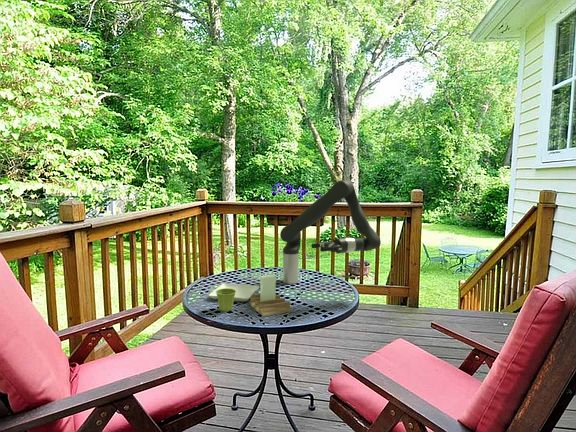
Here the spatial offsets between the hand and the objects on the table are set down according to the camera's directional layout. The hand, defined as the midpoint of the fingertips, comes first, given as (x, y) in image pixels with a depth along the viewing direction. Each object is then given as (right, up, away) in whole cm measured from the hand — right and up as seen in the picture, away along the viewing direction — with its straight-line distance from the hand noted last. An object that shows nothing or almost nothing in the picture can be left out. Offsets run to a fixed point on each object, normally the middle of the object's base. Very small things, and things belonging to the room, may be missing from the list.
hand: (316, 247), depth 182 cm
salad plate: (-41, -27, +15) cm, 51 cm away
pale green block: (-23, -27, -3) cm, 35 cm away
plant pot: (-42, -29, -5) cm, 51 cm away
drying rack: (-22, -28, -2) cm, 36 cm away
